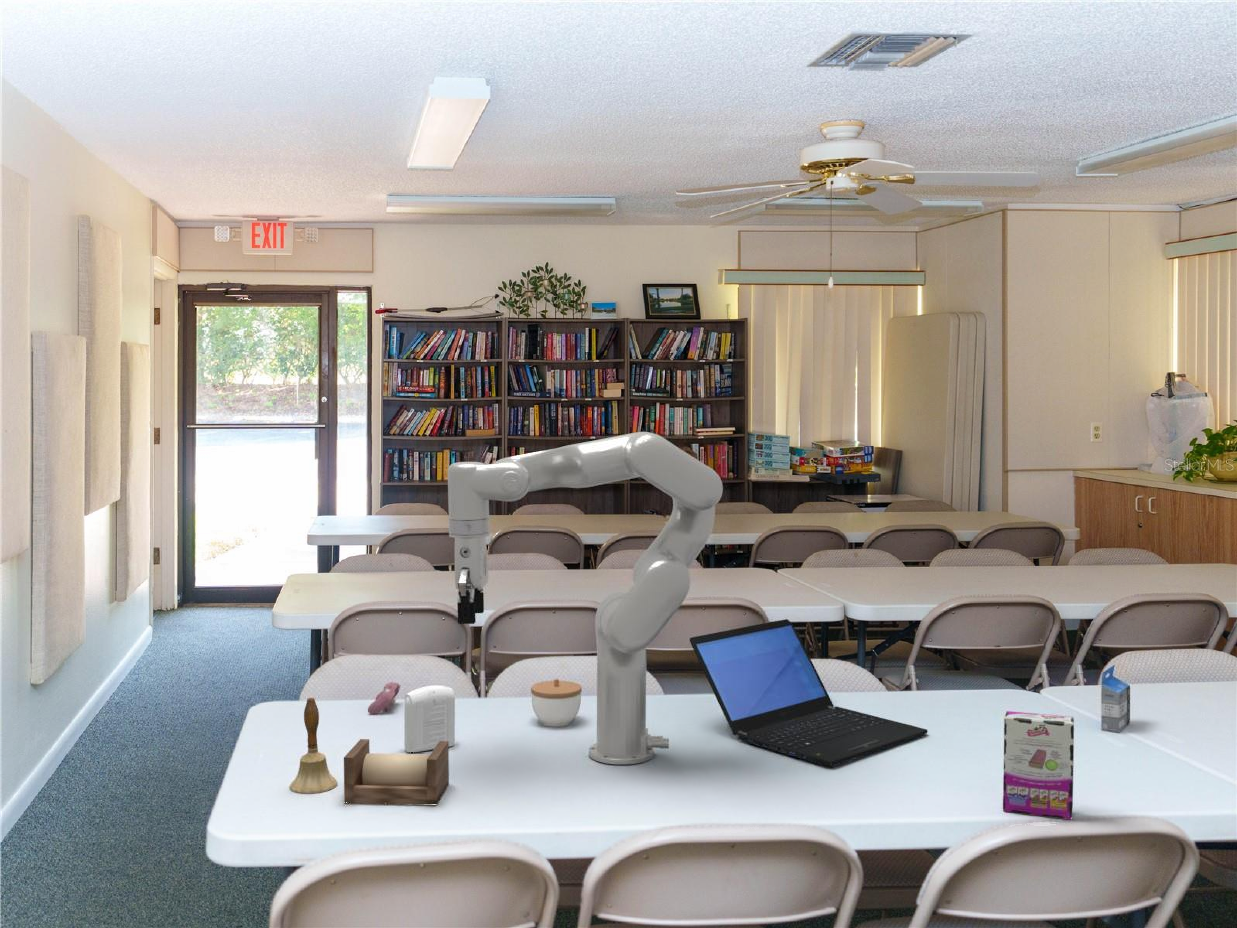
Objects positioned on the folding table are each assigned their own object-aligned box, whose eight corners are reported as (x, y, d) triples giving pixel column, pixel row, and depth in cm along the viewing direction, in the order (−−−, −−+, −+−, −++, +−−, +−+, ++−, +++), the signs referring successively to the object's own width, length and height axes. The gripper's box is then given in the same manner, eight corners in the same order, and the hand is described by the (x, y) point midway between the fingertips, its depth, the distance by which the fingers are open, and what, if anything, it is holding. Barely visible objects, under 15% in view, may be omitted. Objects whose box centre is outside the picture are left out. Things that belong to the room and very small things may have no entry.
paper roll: (433, 782, 209) (432, 749, 209) (425, 794, 203) (425, 761, 203) (371, 780, 210) (370, 748, 209) (362, 793, 204) (361, 759, 203)
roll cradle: (448, 784, 211) (448, 740, 211) (436, 805, 201) (436, 759, 200) (361, 782, 212) (360, 739, 212) (344, 803, 202) (343, 757, 201)
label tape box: (1119, 733, 243) (1121, 675, 243) (1099, 730, 246) (1101, 672, 245) (1130, 724, 250) (1132, 667, 250) (1110, 720, 253) (1112, 664, 252)
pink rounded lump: (384, 722, 255) (398, 693, 255) (365, 712, 255) (379, 684, 255) (392, 709, 265) (406, 682, 265) (374, 700, 265) (388, 673, 264)
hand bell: (312, 797, 205) (311, 707, 204) (279, 788, 209) (278, 700, 208) (347, 783, 212) (346, 696, 211) (314, 775, 216) (313, 689, 215)
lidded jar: (591, 724, 249) (591, 680, 248) (547, 733, 243) (547, 688, 242) (564, 712, 257) (564, 670, 257) (521, 720, 251) (521, 677, 251)
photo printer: (449, 740, 237) (448, 680, 236) (458, 746, 233) (457, 685, 233) (401, 749, 231) (400, 687, 231) (410, 755, 228) (409, 692, 227)
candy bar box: (1072, 810, 200) (1075, 715, 198) (1072, 820, 195) (1075, 723, 194) (1003, 802, 204) (1005, 709, 202) (1001, 811, 199) (1004, 716, 198)
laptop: (830, 772, 220) (831, 670, 218) (686, 728, 247) (687, 637, 246) (930, 736, 242) (932, 644, 241) (788, 700, 270) (789, 616, 268)
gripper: (481, 533, 211) (483, 627, 213) (495, 522, 229) (497, 609, 230) (440, 534, 212) (442, 628, 213) (457, 522, 229) (459, 609, 230)
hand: (471, 618), depth 221 cm, fingers open, 9 cm apart
